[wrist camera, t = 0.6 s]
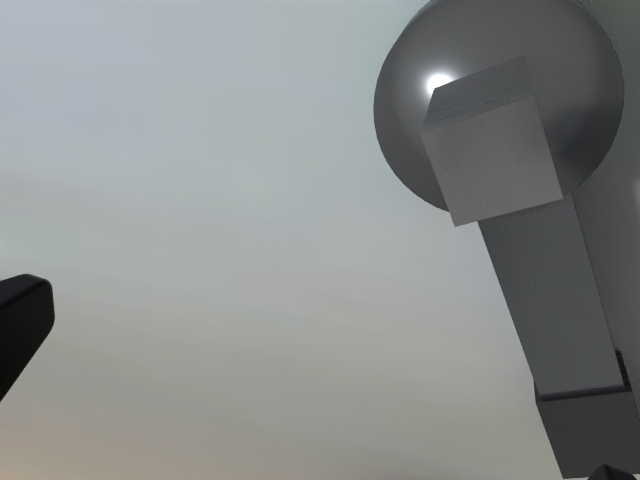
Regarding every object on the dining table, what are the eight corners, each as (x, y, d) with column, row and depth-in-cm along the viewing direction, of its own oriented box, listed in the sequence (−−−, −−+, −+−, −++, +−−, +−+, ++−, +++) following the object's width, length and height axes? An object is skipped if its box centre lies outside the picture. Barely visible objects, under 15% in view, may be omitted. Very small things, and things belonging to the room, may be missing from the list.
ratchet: (355, 29, 19) (300, 80, 13) (579, -70, 16) (625, -56, 10) (517, 441, 26) (524, 580, 21) (690, 425, 23) (750, 582, 18)
